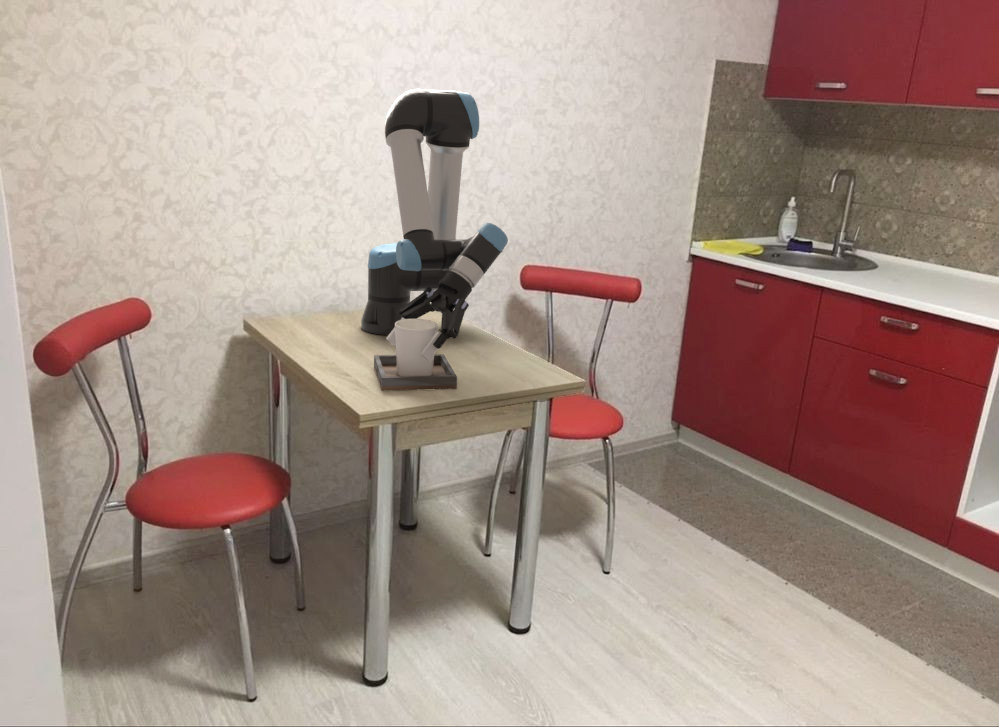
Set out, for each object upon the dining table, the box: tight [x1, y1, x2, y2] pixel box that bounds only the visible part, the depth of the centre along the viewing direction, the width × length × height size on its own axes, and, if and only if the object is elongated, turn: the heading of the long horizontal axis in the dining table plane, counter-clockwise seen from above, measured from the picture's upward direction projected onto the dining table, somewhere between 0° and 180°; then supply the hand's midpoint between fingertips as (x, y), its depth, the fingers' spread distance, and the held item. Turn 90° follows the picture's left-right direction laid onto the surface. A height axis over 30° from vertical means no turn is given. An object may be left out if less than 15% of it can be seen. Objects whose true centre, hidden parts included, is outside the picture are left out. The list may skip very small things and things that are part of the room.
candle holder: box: [395, 318, 438, 376], centre depth 199 cm, size 10×10×12 cm
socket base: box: [373, 353, 458, 392], centre depth 200 cm, size 17×17×3 cm
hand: (406, 349), depth 197 cm, fingers open, 13 cm apart
